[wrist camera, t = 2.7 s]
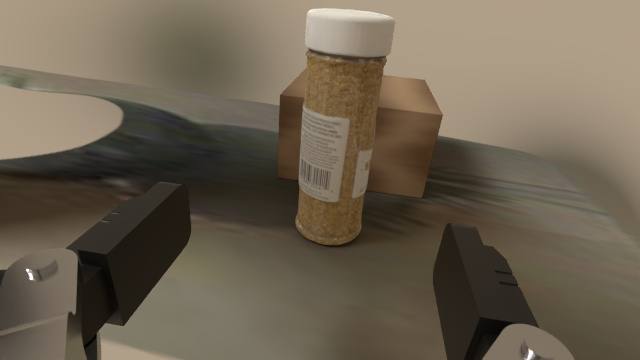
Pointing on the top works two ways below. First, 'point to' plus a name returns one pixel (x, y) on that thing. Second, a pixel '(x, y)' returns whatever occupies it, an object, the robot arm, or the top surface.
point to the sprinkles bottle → (339, 119)
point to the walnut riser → (376, 135)
